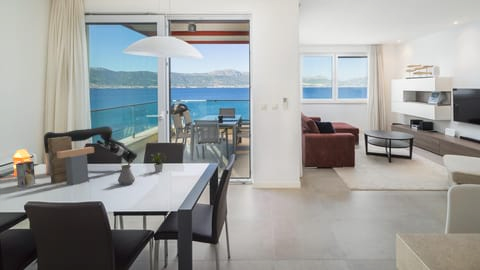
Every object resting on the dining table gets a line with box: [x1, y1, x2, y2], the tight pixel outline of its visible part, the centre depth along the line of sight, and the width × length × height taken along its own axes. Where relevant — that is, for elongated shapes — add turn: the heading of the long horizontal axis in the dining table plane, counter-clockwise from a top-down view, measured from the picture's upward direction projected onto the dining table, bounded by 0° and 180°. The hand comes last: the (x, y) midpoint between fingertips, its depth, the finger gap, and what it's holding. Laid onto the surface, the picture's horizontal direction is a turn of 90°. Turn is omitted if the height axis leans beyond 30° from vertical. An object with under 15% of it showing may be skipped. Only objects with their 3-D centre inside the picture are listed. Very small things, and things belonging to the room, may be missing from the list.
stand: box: [48, 136, 73, 185], centre depth 249 cm, size 6×14×32 cm, turn 149°
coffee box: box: [16, 161, 36, 188], centre depth 239 cm, size 9×6×16 cm
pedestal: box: [65, 154, 89, 186], centre depth 245 cm, size 7×12×20 cm, turn 149°
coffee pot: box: [117, 159, 136, 186], centre depth 246 cm, size 21×12×15 cm, turn 4°
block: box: [57, 146, 95, 158], centre depth 244 cm, size 4×26×4 cm, turn 149°
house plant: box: [150, 152, 167, 173], centre depth 277 cm, size 14×14×16 cm
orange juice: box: [12, 148, 31, 177], centre depth 271 cm, size 8×9×20 cm
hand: (100, 141), depth 262 cm, fingers open, 8 cm apart
